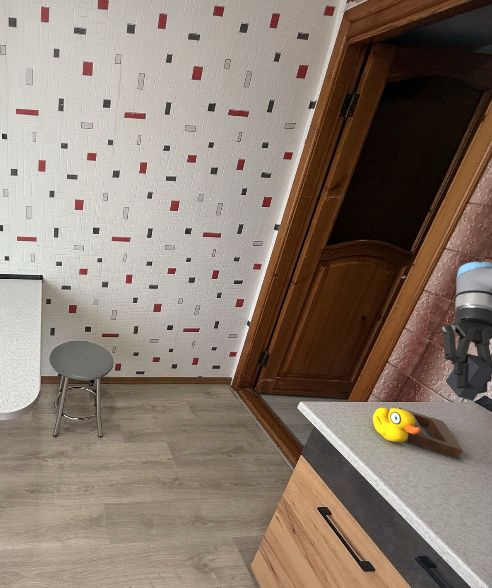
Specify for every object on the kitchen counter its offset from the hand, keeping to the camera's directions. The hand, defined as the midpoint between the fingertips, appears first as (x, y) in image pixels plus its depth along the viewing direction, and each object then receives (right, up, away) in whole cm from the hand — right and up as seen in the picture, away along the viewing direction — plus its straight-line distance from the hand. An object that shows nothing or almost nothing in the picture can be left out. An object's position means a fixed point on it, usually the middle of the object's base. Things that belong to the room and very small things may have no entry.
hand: (471, 389), depth 88 cm
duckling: (-20, -14, +4) cm, 25 cm away
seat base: (-7, -15, +5) cm, 17 cm away
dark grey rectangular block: (+2, -2, +4) cm, 5 cm away
